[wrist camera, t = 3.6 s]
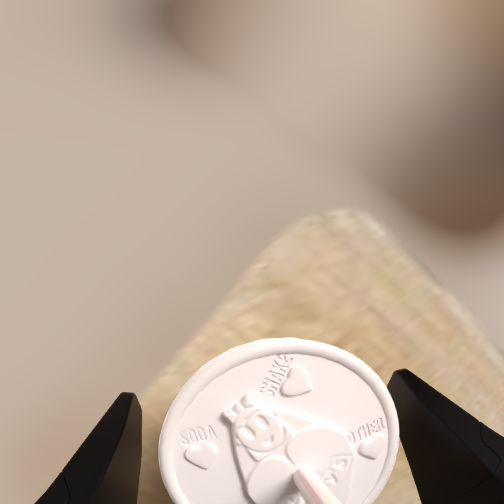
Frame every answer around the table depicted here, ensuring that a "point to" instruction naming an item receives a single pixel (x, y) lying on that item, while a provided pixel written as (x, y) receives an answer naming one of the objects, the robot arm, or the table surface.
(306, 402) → the smoothie
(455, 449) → the robot arm
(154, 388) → the table surface
